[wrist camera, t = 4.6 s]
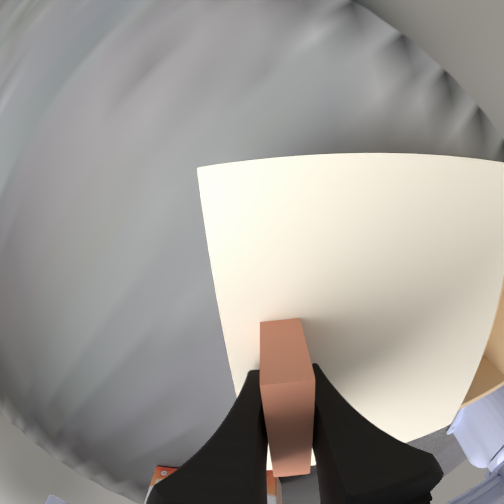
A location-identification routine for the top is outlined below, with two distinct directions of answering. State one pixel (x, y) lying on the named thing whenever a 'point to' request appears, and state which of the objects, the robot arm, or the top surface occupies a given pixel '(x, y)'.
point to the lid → (355, 285)
